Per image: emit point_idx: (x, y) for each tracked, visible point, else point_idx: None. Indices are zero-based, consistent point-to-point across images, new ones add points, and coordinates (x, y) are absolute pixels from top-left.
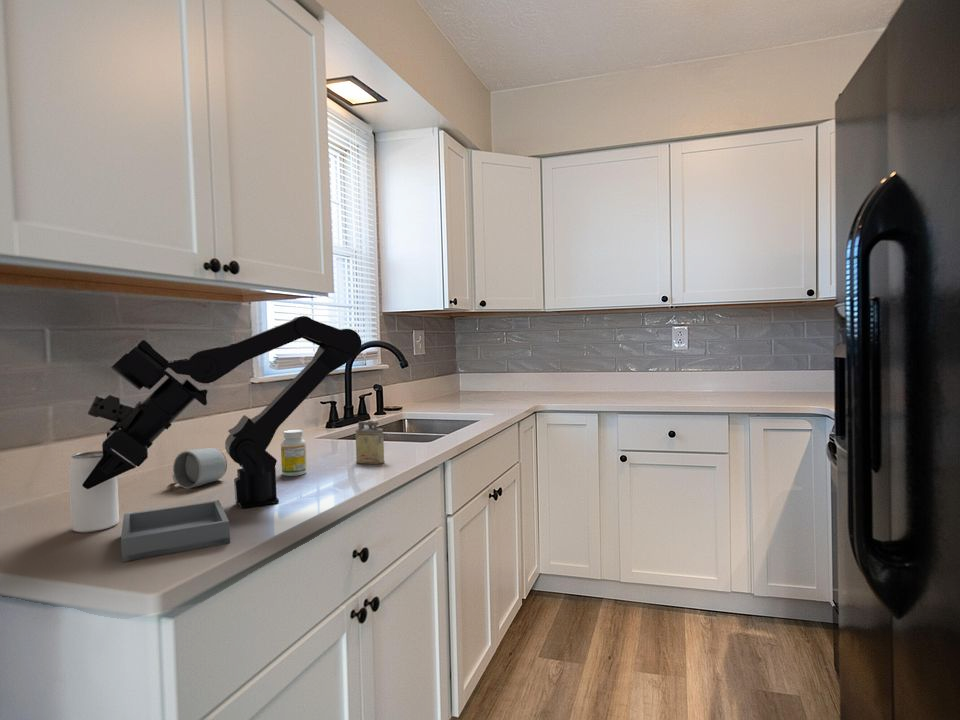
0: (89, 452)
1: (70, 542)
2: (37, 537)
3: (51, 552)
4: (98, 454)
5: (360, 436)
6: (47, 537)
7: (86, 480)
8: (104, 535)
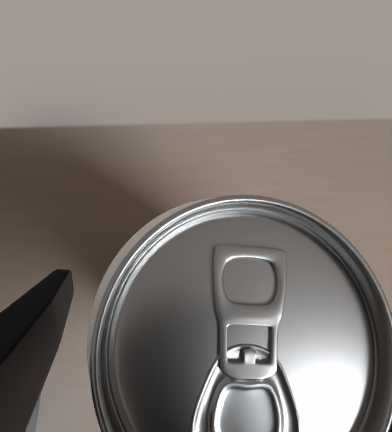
0: (380, 317)
1: (72, 242)
2: (180, 174)
3: (11, 204)
4: (303, 387)
5: None
6: (163, 193)
7: (30, 290)
8: (77, 321)
